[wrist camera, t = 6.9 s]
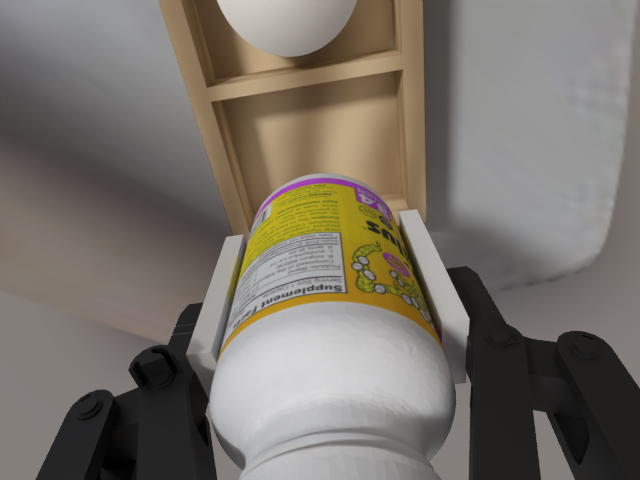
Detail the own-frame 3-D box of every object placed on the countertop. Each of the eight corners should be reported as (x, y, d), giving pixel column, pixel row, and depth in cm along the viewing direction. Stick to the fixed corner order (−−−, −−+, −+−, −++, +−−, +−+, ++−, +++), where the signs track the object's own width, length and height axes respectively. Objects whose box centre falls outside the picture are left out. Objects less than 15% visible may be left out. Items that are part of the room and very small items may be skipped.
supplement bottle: (407, 269, 20) (524, 605, 9) (283, 302, 21) (253, 642, 10) (375, 145, 17) (500, 445, 6) (228, 192, 18) (93, 525, 7)
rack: (244, 223, 33) (237, 249, 30) (140, -129, 21) (110, -149, 18) (414, 198, 32) (426, 221, 29) (402, -184, 20) (419, -216, 17)
